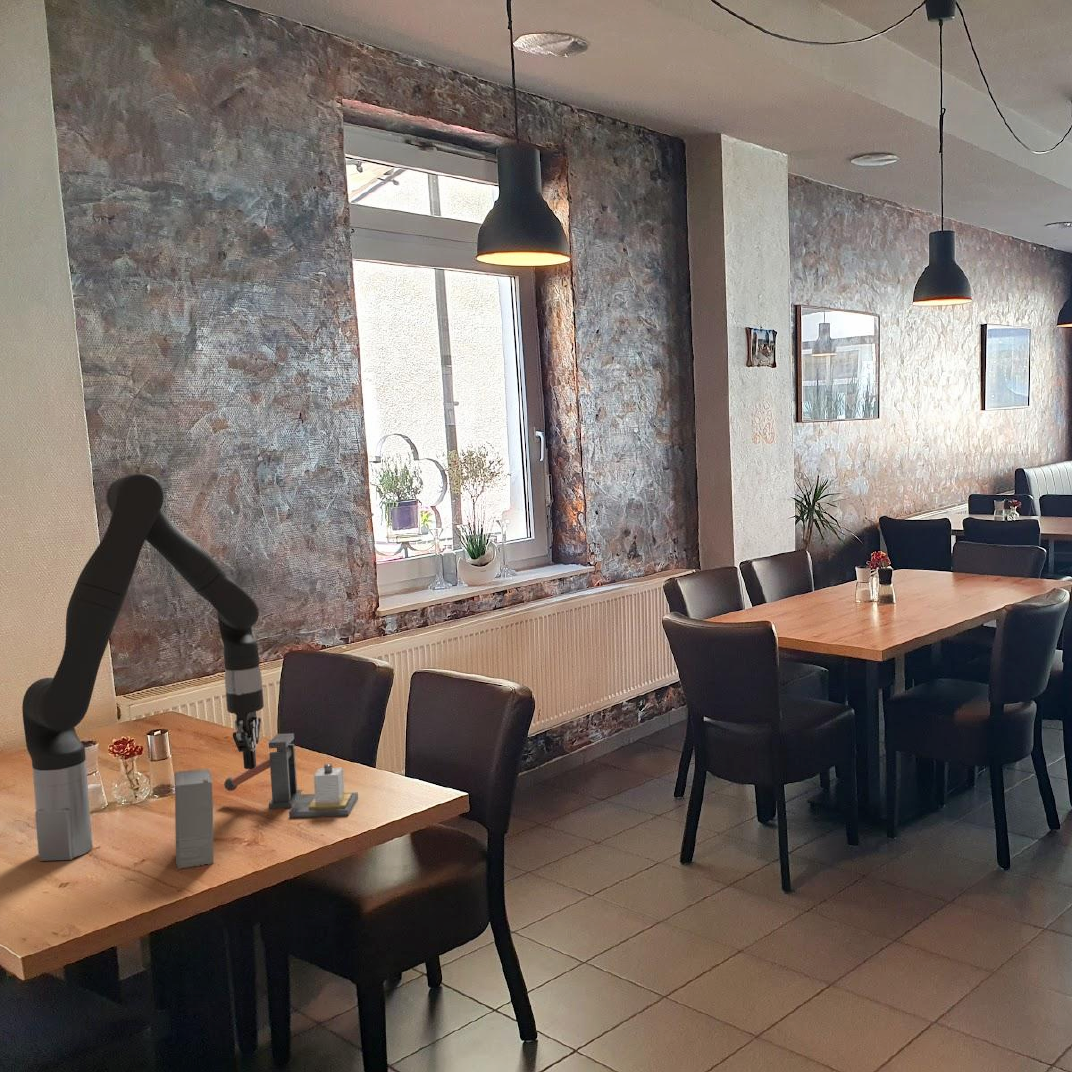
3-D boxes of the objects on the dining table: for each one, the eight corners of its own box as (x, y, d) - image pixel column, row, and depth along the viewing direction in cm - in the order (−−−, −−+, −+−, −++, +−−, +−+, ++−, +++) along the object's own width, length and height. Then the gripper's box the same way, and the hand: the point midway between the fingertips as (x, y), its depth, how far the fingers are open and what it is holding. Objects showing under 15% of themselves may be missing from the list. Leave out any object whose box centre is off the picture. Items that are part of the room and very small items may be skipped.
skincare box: (175, 854, 194) (169, 771, 193) (215, 848, 197) (209, 766, 196) (176, 871, 187) (170, 784, 185) (218, 864, 189) (212, 778, 188)
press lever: (289, 760, 220) (282, 749, 219) (225, 796, 220) (219, 784, 220) (293, 755, 224) (287, 743, 224) (231, 789, 225) (225, 778, 224)
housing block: (339, 803, 214) (337, 768, 214) (315, 804, 214) (313, 769, 214) (344, 795, 219) (342, 761, 219) (320, 796, 219) (318, 761, 219)
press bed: (348, 815, 212) (344, 749, 211) (260, 818, 212) (256, 752, 211) (361, 792, 226) (357, 730, 225) (279, 795, 227) (275, 733, 226)
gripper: (235, 681, 227) (241, 759, 229) (216, 696, 214) (223, 778, 216) (269, 680, 227) (275, 757, 229) (252, 694, 214) (259, 777, 216)
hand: (250, 767), depth 222 cm, fingers closed
